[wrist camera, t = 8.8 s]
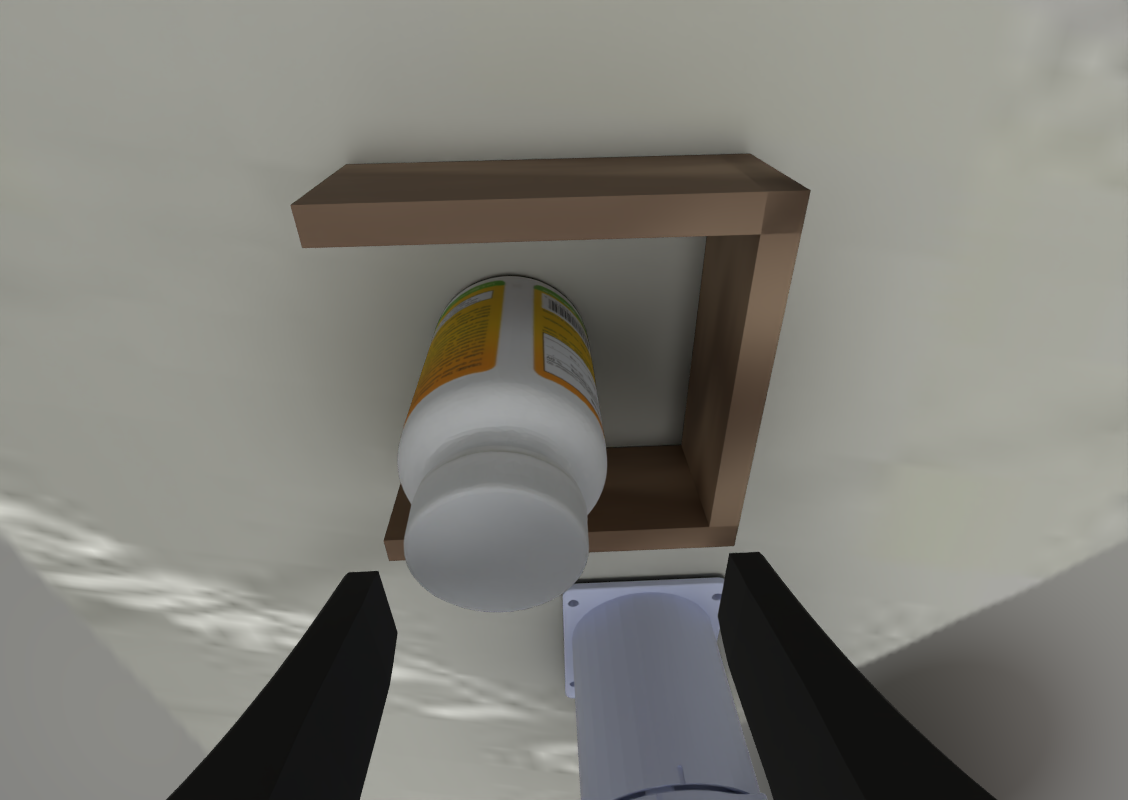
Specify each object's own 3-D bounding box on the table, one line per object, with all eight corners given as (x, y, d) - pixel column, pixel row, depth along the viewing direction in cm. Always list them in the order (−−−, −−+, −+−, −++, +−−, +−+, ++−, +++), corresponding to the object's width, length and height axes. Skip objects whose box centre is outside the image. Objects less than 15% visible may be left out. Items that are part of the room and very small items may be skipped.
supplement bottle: (433, 398, 21) (370, 626, 13) (439, 260, 18) (362, 446, 10) (574, 413, 22) (596, 640, 14) (601, 283, 19) (648, 474, 11)
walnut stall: (702, 463, 24) (734, 546, 20) (412, 474, 23) (389, 560, 20) (750, 153, 17) (810, 190, 13) (345, 164, 17) (290, 205, 13)
